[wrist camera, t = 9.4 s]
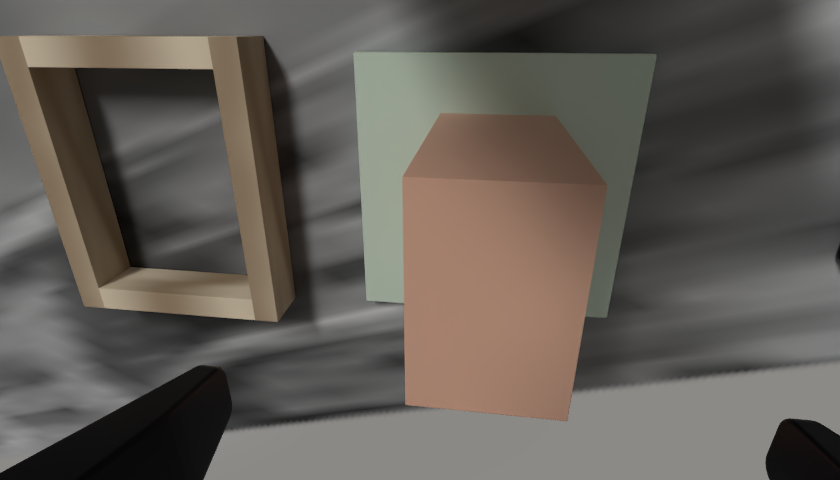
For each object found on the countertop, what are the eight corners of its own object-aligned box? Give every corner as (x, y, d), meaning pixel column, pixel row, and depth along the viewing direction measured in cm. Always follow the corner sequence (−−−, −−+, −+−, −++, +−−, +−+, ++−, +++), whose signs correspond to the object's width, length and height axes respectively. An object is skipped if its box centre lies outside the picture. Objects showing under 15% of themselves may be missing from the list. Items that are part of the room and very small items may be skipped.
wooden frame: (263, 35, 17) (236, 36, 15) (295, 297, 22) (277, 322, 20) (42, 35, 18) (-8, 36, 16) (116, 284, 23) (84, 306, 21)
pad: (651, 53, 16) (657, 54, 15) (603, 310, 20) (606, 318, 19) (358, 51, 17) (353, 52, 16) (369, 293, 21) (366, 300, 20)
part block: (555, 116, 16) (607, 184, 9) (537, 269, 19) (567, 421, 12) (440, 112, 17) (402, 176, 10) (437, 263, 19) (405, 404, 12)
